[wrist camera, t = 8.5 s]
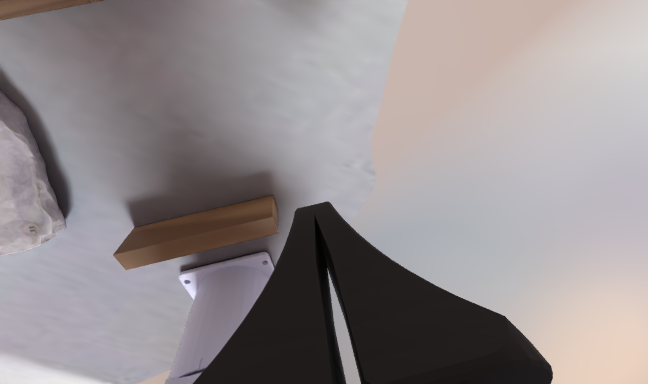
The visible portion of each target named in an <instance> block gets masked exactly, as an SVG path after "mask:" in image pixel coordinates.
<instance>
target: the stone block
mask: <svg viewBox="0 0 648 384" xmlns="http://www.w3.org/2000/svg"><path fill="white" fill-rule="evenodd" d="M45 166H46V164H45V162H44V160H43V158H42V156H41V154H40V152H39V149H38V146H37V142H36V141H35V139H34V137H33V135H32V133H31V131H30V128H29V126H28V122H27V119H26V117H25V115H24V113H23V111H22V110H21V109H20V108H19V107H17V106H16V105H15V104H14V103H12V102H11V101H10V100H9V99H8V98H7V97H6V96H5V95H4V94H3V93H2V92H1V91H0V256H4V255H8V254H12V253H16V252H21V251H26V250H30V249H32V248H35V247H38V246H40V245H42V244H43V243H45V242H47V241H48V240H50V239H51V238H53V237H54V236H55V235H56V234H57V233H58V232H60V231H63V230H65V229H66V221H65V219H64V216H63V215H62V212H61V210H60V208H59V207H58V205H57V199H56V195H55V194H54V190H53V188H52V186H51V185H50V183H49V182H48V176H47V173H46V170H45Z"/></svg>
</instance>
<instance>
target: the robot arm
mask: <svg viewBox="0 0 648 384" xmlns="http://www.w3.org/2000/svg"><path fill="white" fill-rule="evenodd" d="M264 261H266V262H264ZM327 268H328V270H327ZM328 271H329V274H330V277H331V280H332V283H333V286H334V288H335V292H336V294H337V297H338V301H339V303H340V306H341V309H342V312H343V315H344V318H345V322H346V325H347V329H348V332H349V336H350V340H351V344H352V348H353V352H354V357H355V361H356V365H357V369H358V373H359V377H360V381H361V384H551V381H552V379H553V372H552V368H551V366H550V364H549V363H548V362H547V361H546V360H545V358H544V357H543V356H542V355H541V354H540V353H539V351H538V350H537V349H536V348H535V347H534V346H533V344H532V343H531V342H530V341H529V340H528V339H527V338H526V337H525V336H524V335H523V334H522V333H521V332H520V331H519V330H518V329H517V328H516V327H515V326H514V325H513V324H512V323H511V322H510V321H509V320H508V319H507V318H506V317H505V316H503V315H501V314H498V313H496V312H493V311H491V310H489V309H486V308H484V307H482V306H479V305H477V304H475V303H472V302H470V301H467V300H465V299H463V298H460V297H458V296H456V295H454V294H452V293H449V292H448V291H446V290H444V289H441V288H439V287H437V286H435V285H434V284H432V283H430V282H428V281H426V280H425V279H423V278H421V277H419V276H418V275H416V274H414V273H412V272H410V271H409V270H407V269H405V268H404V267H402V266H401V265H399V264H398V263H396V262H394V261H393V260H391V259H390V258H389V257H387V256H386V255H384V254H383V253H382V252H380V251H379V250H378V249H376V248H375V247H374V246H372V245H371V244H370V243H369V242H367V241H366V240H365V239H364V238H363V237H362V236H360V235H359V234H358V233H357V232H356V231H355V230H354V229H353V228H352V227H351V226H350V225H349V224H348V223H347V222H346V221H345V220H344V219H343V218H342V217H341V216H340V215H339V213H338V212H337V211H336V210H335V208H334V207H333V206H332V204H331V203H330V202H324V203H319V204H315V205H311V206H307V207H303V208H298V209H297V210H296V211H295V215H294V219H293V223H292V226H291V229H290V233H289V235H288V238H287V241H286V243H285V246H284V249H283V251H282V253H281V255H280V258H279V260H278V262H277V264H276V266H275V268H274V266H273V264H272V261H271V259H270V256H269V254H268V253H266V252H260V253H256V254H252V255H248V256H244V257H240V258H236V259H232V260H228V261H224V262H219V263H215V264H211V265H207V266H203V267H199V268H195V269H191V270H187V271H183V272H181V273H180V275H179V280H180V281H181V282H182V284H183V285H184V287H185V288H186V289H187V291H188V292H189V294H190V295H191V297H192V298H193V299H194V301H193V304H192V307H191V310H190V313H189V316H188V320H187V323H186V326H185V329H184V332H183V335H182V338H181V341H180V344H179V347H178V350H177V353H176V356H175V359H174V362H173V366H172V369H171V372H170V375H169V378H168V379H167V380H166V382H165V384H346V380H345V375H344V371H343V366H342V361H341V357H340V352H339V347H338V342H337V337H336V332H335V326H334V321H333V311H332V303H331V294H330V287H329V279H328Z"/></svg>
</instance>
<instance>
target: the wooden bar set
mask: <svg viewBox="0 0 648 384" xmlns="http://www.w3.org/2000/svg"><path fill="white" fill-rule="evenodd" d="M97 1H102V0H0V20H4V19H9V18H14V17H20V16H25V15H30V14H35V13H40V12H45V11H51V10H56V9H61V8H66V7H71V6H76V5H82V4H87V3H92V2H97ZM277 233H278V209H277V206H276V203H275V200H274V197H273V195H272V196H268V197H263V198H259V199H255V200H251V201H246V202H242V203H238V204H234V205H229V206H225V207H221V208H217V209H212V210H208V211H204V212H200V213H195V214H191V215H187V216H182V217H178V218H174V219H170V220H165V221H161V222H157V223H153V224H148V225H144V226H140V227H136V228H134V229H133V230H132V231H131V233H130V234H129V235H128V236H127V238H126V239H125V240H124V242H123V243H122V244H121V245H120V247H119V248H118V249H117V251H116V252H115V253H114V254H113V255H114V257H115V258H116V259H117V260H118V261H119V263H120V264H121V265H122V266H123V267H124V268H125V270H128V269H132V268H136V267H141V266H145V265H149V264H153V263H157V262H161V261H165V260H170V259H174V258H178V257H182V256H186V255H190V254H194V253H198V252H203V251H207V250H211V249H215V248H219V247H223V246H227V245H232V244H236V243H240V242H244V241H248V240H252V239H256V238H261V237H265V236H269V235H273V234H277Z"/></svg>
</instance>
